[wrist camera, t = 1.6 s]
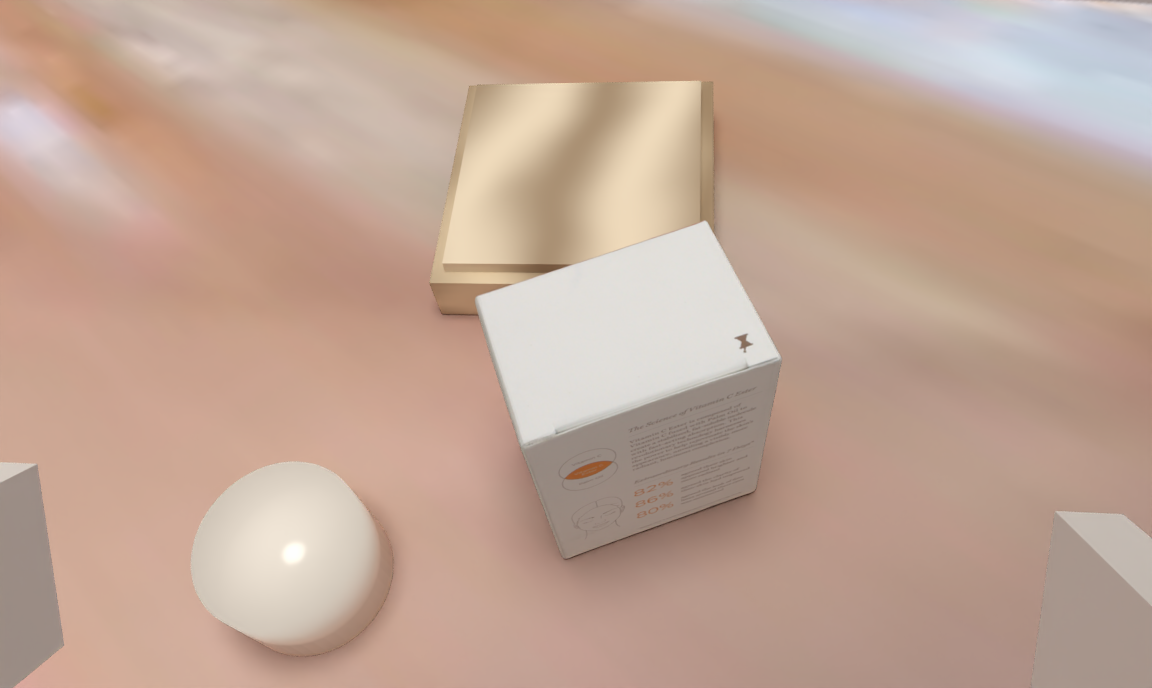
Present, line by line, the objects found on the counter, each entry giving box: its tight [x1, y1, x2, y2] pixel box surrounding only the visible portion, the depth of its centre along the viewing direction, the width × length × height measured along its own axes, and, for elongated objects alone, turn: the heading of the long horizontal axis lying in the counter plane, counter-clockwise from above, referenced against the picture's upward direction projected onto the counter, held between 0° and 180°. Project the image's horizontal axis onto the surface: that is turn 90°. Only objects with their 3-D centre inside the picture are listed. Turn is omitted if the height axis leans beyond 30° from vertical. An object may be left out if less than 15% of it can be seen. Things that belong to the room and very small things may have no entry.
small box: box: [475, 220, 782, 559], centre depth 30 cm, size 8×6×10 cm
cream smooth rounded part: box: [191, 462, 393, 656], centre depth 32 cm, size 6×6×4 cm
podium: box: [429, 81, 714, 315], centre depth 40 cm, size 12×12×3 cm
